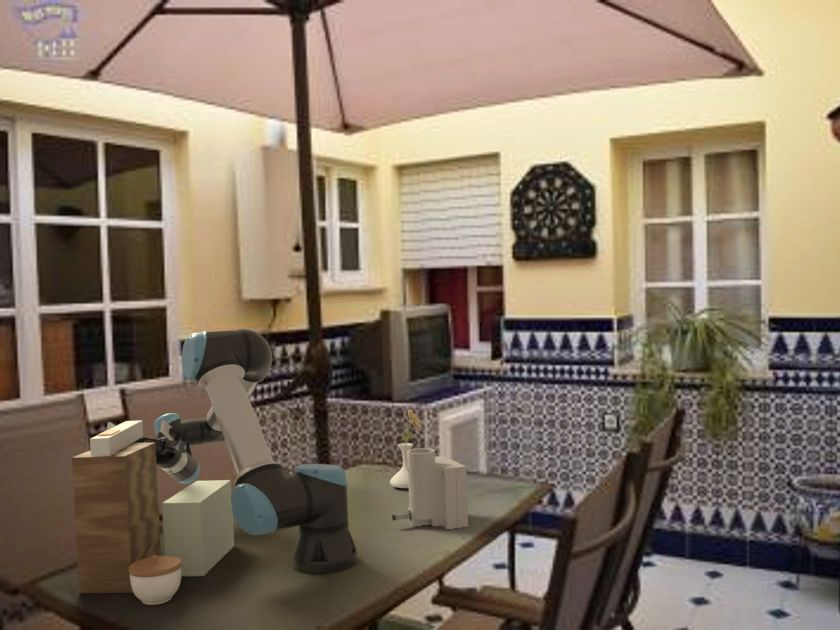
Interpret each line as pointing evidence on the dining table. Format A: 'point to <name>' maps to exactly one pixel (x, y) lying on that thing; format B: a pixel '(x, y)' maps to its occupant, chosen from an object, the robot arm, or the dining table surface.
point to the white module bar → (116, 438)
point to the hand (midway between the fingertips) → (135, 426)
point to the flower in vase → (405, 455)
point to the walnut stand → (115, 516)
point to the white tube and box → (435, 490)
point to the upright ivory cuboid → (199, 525)
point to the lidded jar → (155, 578)
